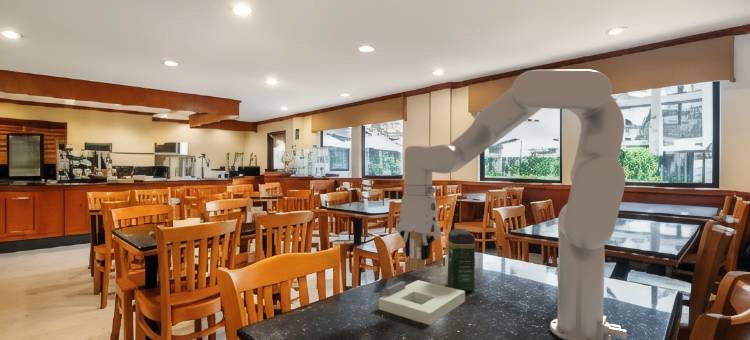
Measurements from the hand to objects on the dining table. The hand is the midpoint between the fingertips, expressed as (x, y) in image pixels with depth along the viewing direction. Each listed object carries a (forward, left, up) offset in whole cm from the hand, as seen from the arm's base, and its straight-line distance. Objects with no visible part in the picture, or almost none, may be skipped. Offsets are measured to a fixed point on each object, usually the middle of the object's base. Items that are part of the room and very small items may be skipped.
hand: (417, 256), depth 104 cm
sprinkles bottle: (0, 0, -4) cm, 4 cm away
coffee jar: (-2, -23, -15) cm, 27 cm away
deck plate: (0, -3, -14) cm, 15 cm away
